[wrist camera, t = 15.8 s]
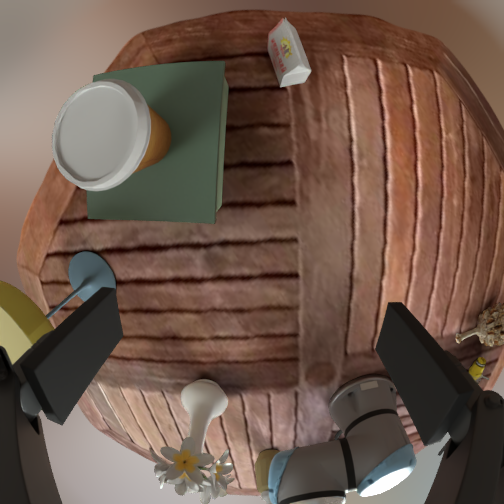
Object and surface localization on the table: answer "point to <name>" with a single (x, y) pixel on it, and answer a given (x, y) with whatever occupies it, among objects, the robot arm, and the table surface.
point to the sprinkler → (478, 369)
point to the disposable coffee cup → (107, 135)
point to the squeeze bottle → (264, 472)
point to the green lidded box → (175, 147)
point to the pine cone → (488, 327)
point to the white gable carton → (287, 54)
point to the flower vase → (197, 446)
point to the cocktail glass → (30, 315)
